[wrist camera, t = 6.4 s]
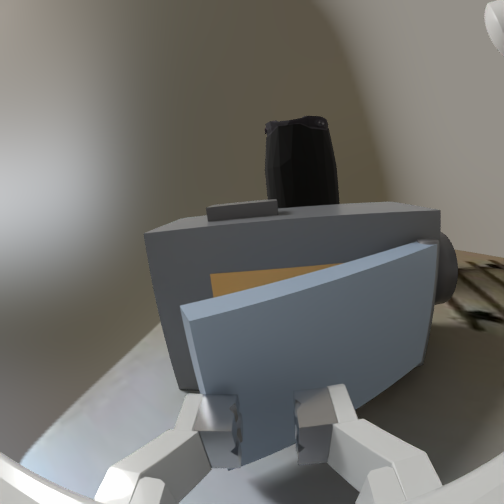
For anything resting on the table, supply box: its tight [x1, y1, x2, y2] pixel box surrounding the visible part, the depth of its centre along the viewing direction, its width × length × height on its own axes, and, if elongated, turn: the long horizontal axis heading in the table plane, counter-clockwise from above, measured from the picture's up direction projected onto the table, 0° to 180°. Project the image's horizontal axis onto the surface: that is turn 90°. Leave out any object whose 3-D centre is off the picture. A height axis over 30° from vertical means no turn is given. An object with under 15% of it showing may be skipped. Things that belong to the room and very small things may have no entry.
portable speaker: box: [265, 116, 339, 209], centre depth 34 cm, size 9×9×20 cm
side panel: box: [180, 238, 439, 471], centre depth 11 cm, size 13×1×7 cm, turn 116°
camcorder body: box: [144, 199, 458, 390], centre depth 18 cm, size 19×7×11 cm, turn 87°
